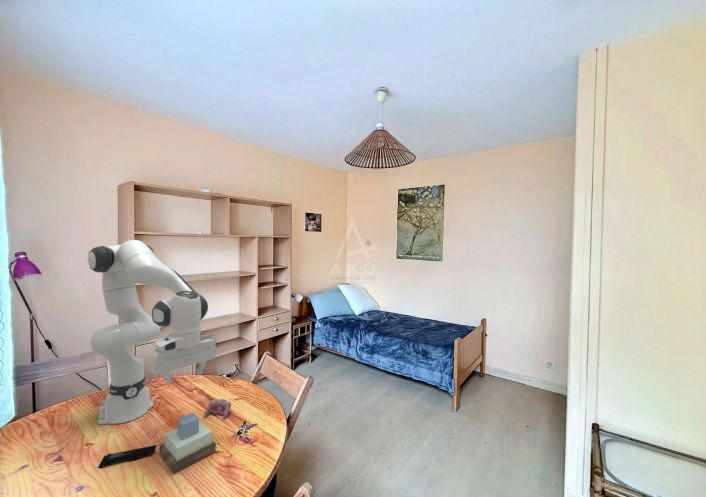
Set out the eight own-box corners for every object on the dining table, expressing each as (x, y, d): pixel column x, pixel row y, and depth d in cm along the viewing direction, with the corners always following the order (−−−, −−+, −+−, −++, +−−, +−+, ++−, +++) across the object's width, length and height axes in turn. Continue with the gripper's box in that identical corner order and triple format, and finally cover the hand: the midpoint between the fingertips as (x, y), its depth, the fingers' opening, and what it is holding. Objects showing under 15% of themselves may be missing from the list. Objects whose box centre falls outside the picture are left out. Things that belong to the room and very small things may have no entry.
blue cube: (177, 433, 99) (177, 418, 99) (192, 426, 103) (193, 412, 103) (182, 440, 96) (183, 424, 96) (198, 432, 99) (199, 418, 99)
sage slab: (164, 445, 99) (164, 433, 99) (198, 430, 107) (198, 419, 107) (176, 460, 92) (177, 448, 92) (212, 443, 100) (212, 431, 100)
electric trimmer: (155, 457, 98) (155, 448, 98) (97, 470, 92) (97, 460, 92) (157, 450, 101) (158, 441, 101) (102, 462, 95) (102, 452, 95)
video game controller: (230, 418, 123) (233, 399, 126) (225, 419, 119) (229, 399, 122) (207, 416, 124) (212, 398, 127) (202, 417, 120) (206, 398, 123)
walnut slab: (159, 456, 99) (159, 445, 99) (199, 438, 109) (199, 427, 109) (173, 476, 90) (173, 463, 90) (215, 454, 100) (215, 442, 100)
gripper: (212, 330, 110) (211, 366, 110) (148, 343, 94) (147, 385, 95) (220, 334, 106) (219, 371, 106) (155, 348, 90) (153, 392, 90)
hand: (184, 378), depth 100 cm, fingers open, 8 cm apart
